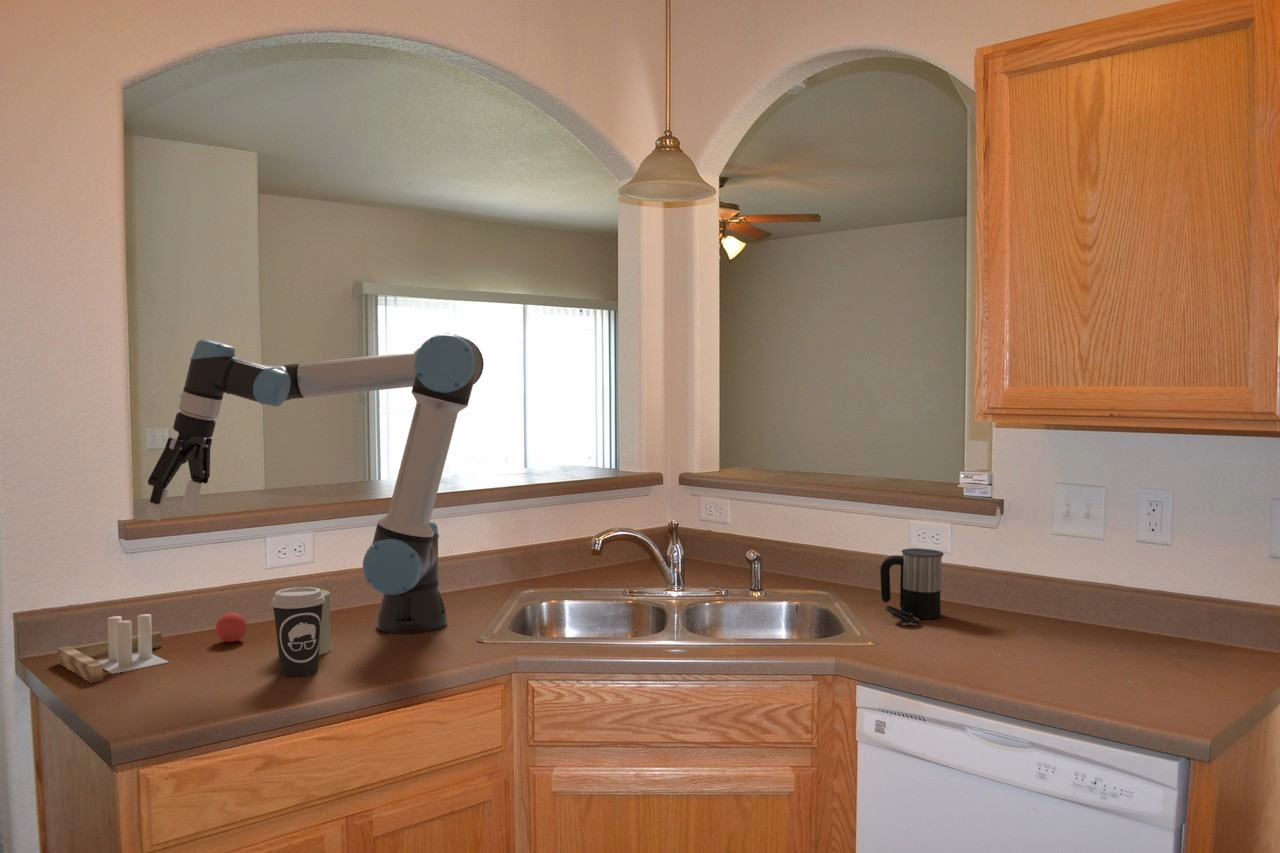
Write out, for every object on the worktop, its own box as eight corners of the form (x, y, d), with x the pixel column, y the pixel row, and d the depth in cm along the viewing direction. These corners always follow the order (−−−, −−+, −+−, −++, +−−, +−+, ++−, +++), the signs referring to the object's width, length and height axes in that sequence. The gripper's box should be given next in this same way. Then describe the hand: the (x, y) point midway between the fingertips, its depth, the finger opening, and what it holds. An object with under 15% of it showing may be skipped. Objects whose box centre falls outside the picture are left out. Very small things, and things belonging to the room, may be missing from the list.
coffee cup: (336, 666, 183) (335, 587, 182) (308, 681, 173) (306, 598, 173) (291, 662, 185) (289, 585, 184) (260, 677, 175) (259, 595, 175)
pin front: (154, 658, 188) (153, 615, 187) (141, 661, 186) (140, 617, 186) (149, 656, 189) (148, 613, 189) (136, 659, 188) (135, 615, 187)
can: (272, 653, 191) (271, 593, 191) (308, 642, 199) (307, 585, 199) (306, 660, 187) (304, 598, 186) (341, 648, 195) (340, 589, 194)
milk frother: (936, 611, 226) (936, 548, 226) (956, 627, 211) (956, 560, 210) (875, 610, 227) (875, 547, 226) (890, 627, 211) (890, 560, 210)
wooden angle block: (193, 661, 186) (193, 646, 185) (91, 683, 172) (90, 666, 172) (156, 645, 198) (156, 630, 198) (58, 663, 184) (57, 648, 184)
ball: (252, 641, 200) (252, 612, 200) (223, 647, 196) (223, 618, 196) (239, 636, 204) (239, 608, 204) (211, 642, 200) (210, 613, 200)
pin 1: (124, 661, 186) (123, 617, 186) (111, 663, 184) (110, 619, 184) (120, 658, 188) (118, 615, 187) (106, 661, 186) (105, 617, 186)
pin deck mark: (168, 662, 185) (168, 661, 185) (112, 674, 178) (112, 673, 178) (144, 651, 193) (144, 650, 193) (89, 661, 186) (89, 660, 186)
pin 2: (134, 666, 183) (133, 621, 182) (120, 669, 181) (119, 624, 181) (129, 663, 184) (128, 619, 184) (116, 666, 183) (115, 622, 182)
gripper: (209, 409, 210) (183, 503, 210) (146, 410, 185) (118, 517, 185) (242, 419, 209) (216, 513, 210) (183, 421, 185) (155, 528, 185)
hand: (170, 515), depth 198 cm, fingers open, 13 cm apart
